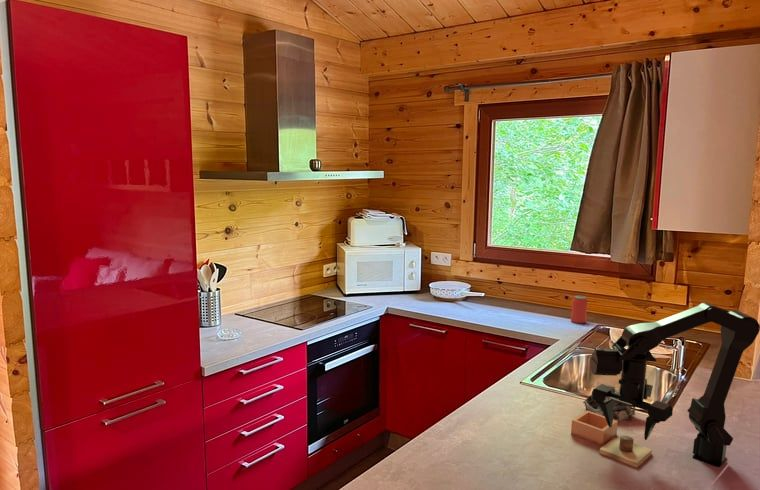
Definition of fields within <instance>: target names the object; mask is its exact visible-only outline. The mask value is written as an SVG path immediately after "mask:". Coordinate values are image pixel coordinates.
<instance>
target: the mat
mask: <svg viewBox="0 0 760 490" xmlns="http://www.w3.org/2000/svg"><path fill="white" fill-rule="evenodd" d="M598 454H599V455H602V456H604V457H608V456H606V455H603V454H601V453H600V451H599V452H598ZM651 456H653V453H652V454H651V455H650V456H649V457H648V458H647V459H646V460H644V461H643V462H642V463H641V464H640V465H639V466H638V467H637V468H636V467H634V466H631V465H629V464H626V463H624V462H621V461H619V460H616V459H613V458H611V457H608V458H610V459H613V460H615V461H616V462H620V463H623V464H625V465H628V466H630V467H633V468H635V469H639V467H640V466H642V465H643V464H644V463H645V462H646V461H647V460H648V459H649V458H650V457H651Z"/></svg>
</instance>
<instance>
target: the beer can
mask: <svg viewBox="0 0 760 490" xmlns="http://www.w3.org/2000/svg"><path fill="white" fill-rule="evenodd" d="M587 309H588V299H587V297H586V296H584V295H577V294H576V295H574V296H573V299H572V303H571V314H570V320H571V322H572V323H574V324H580V325H581V324H585V323H586V322H587V313H588V312H587V311H588V310H587Z"/></svg>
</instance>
